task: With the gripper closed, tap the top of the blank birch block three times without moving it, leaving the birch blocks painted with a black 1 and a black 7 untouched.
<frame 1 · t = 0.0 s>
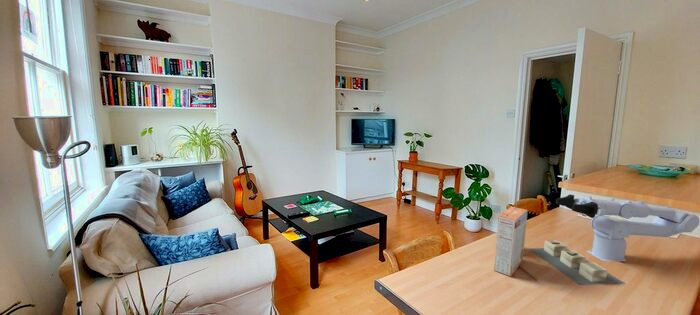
hand: (564, 204, 109), 22 cm above the table, tool horizontal, fingers open, 7 cm apart
cracker box: (508, 267, 106), on the table
mat: (571, 265, 107), on the table
block one: (554, 252, 116), point 1 cm above the table, touching mat
block seven: (571, 264, 107), point 1 cm above the table, touching mat
block plain: (591, 277, 99), point 1 cm above the table, touching mat
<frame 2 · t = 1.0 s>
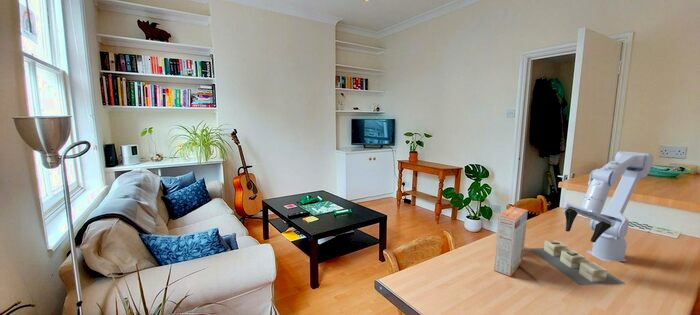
hand: (579, 236, 101), 14 cm above the table, tool tilted 30°, fingers open, 7 cm apart
nothing on the table moved.
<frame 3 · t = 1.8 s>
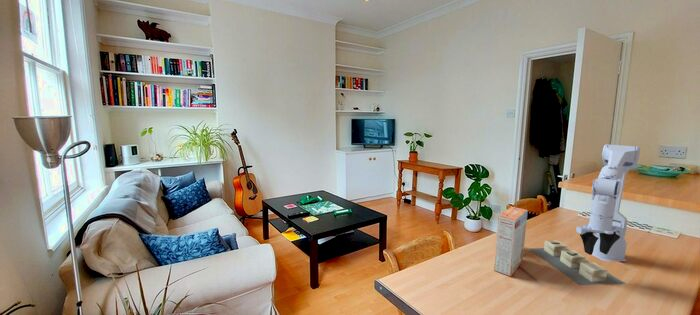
hand: (595, 253, 97), 9 cm above the table, tool pointing down, fingers open, 5 cm apart
nothing on the table moved.
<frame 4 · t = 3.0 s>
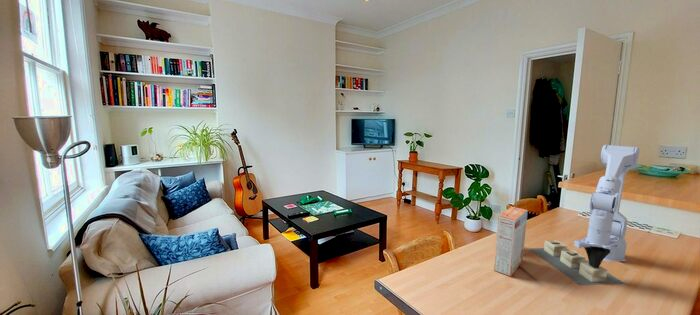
hand: (593, 266, 98), 4 cm above the table, tool pointing down, fingers closed, pressing on block plain
block plain: (591, 277, 99), point 1 cm above the table, touching gripper, mat
everything else where it was.
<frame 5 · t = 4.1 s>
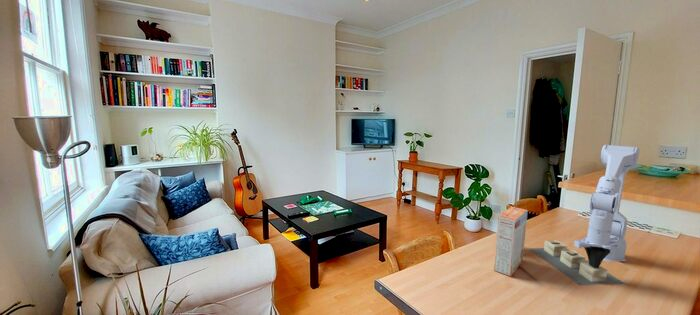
hand: (593, 266, 98), 4 cm above the table, tool pointing down, fingers closed, pressing on block plain
block plain: (591, 277, 99), point 1 cm above the table, touching gripper, mat
everything else where it was.
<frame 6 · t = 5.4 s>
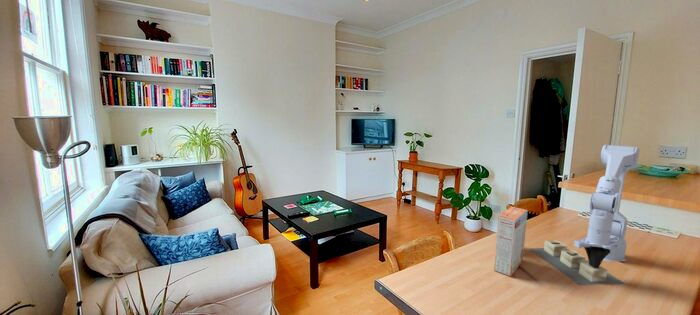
hand: (593, 266, 98), 4 cm above the table, tool pointing down, fingers closed, pressing on block plain
block plain: (591, 277, 99), point 1 cm above the table, touching gripper, mat
everything else where it was.
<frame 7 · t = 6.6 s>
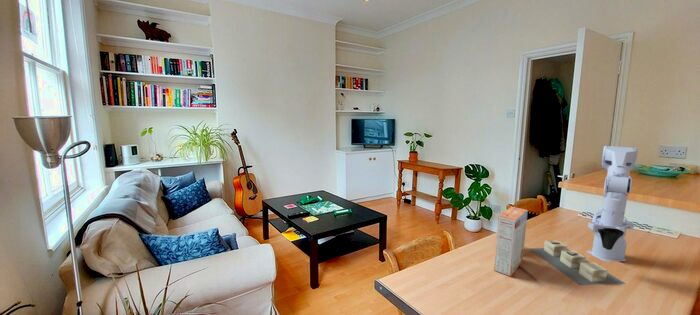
hand: (607, 248, 101), 9 cm above the table, tool pointing down, fingers closed
block plain: (591, 277, 99), point 1 cm above the table, touching mat
everything else where it was.
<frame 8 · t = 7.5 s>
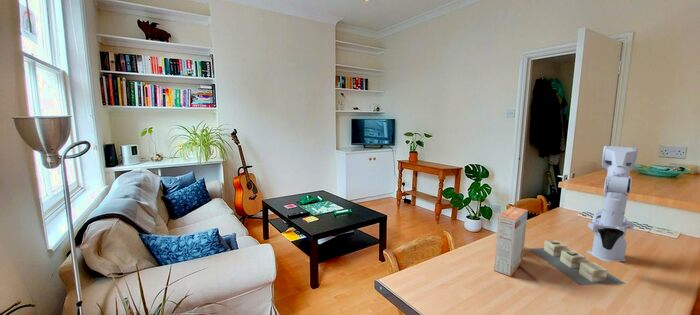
hand: (607, 248, 101), 9 cm above the table, tool pointing down, fingers closed
nothing on the table moved.
at the end: block plain moved 0.0 cm from its start; block plain tilted 0°; block seven moved 0.0 cm from its start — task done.
